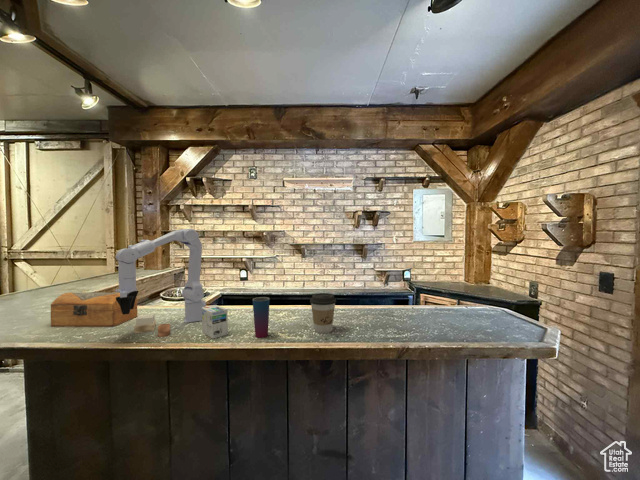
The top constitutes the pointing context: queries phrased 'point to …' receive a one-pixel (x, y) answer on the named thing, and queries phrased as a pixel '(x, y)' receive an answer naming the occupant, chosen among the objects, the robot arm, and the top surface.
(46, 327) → the top surface
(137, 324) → the tower top
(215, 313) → the light bulb box
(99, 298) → the wooden box
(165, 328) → the cylinder
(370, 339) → the top surface
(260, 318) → the cup
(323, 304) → the coffee cup
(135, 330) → the tower base
